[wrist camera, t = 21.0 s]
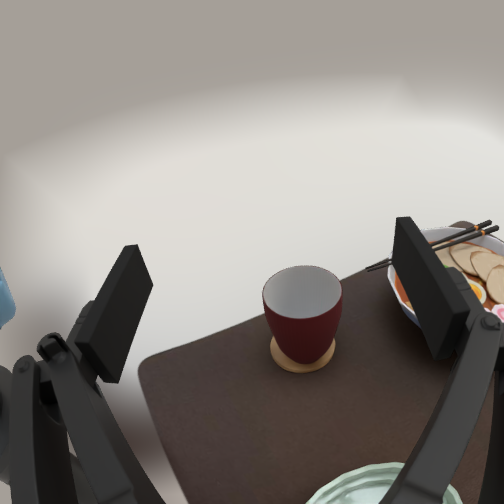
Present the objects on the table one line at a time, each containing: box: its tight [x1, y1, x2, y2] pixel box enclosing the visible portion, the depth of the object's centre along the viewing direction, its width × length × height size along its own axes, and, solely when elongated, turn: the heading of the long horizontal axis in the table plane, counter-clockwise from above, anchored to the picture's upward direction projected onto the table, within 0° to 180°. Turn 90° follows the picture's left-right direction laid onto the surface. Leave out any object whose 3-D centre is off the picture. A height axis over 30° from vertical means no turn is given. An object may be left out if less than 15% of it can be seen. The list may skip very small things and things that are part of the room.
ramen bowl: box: [365, 220, 504, 328], centre depth 35 cm, size 25×23×8 cm
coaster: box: [270, 336, 335, 373], centre depth 39 cm, size 8×8×1 cm
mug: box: [262, 266, 342, 364], centre depth 36 cm, size 10×8×10 cm
